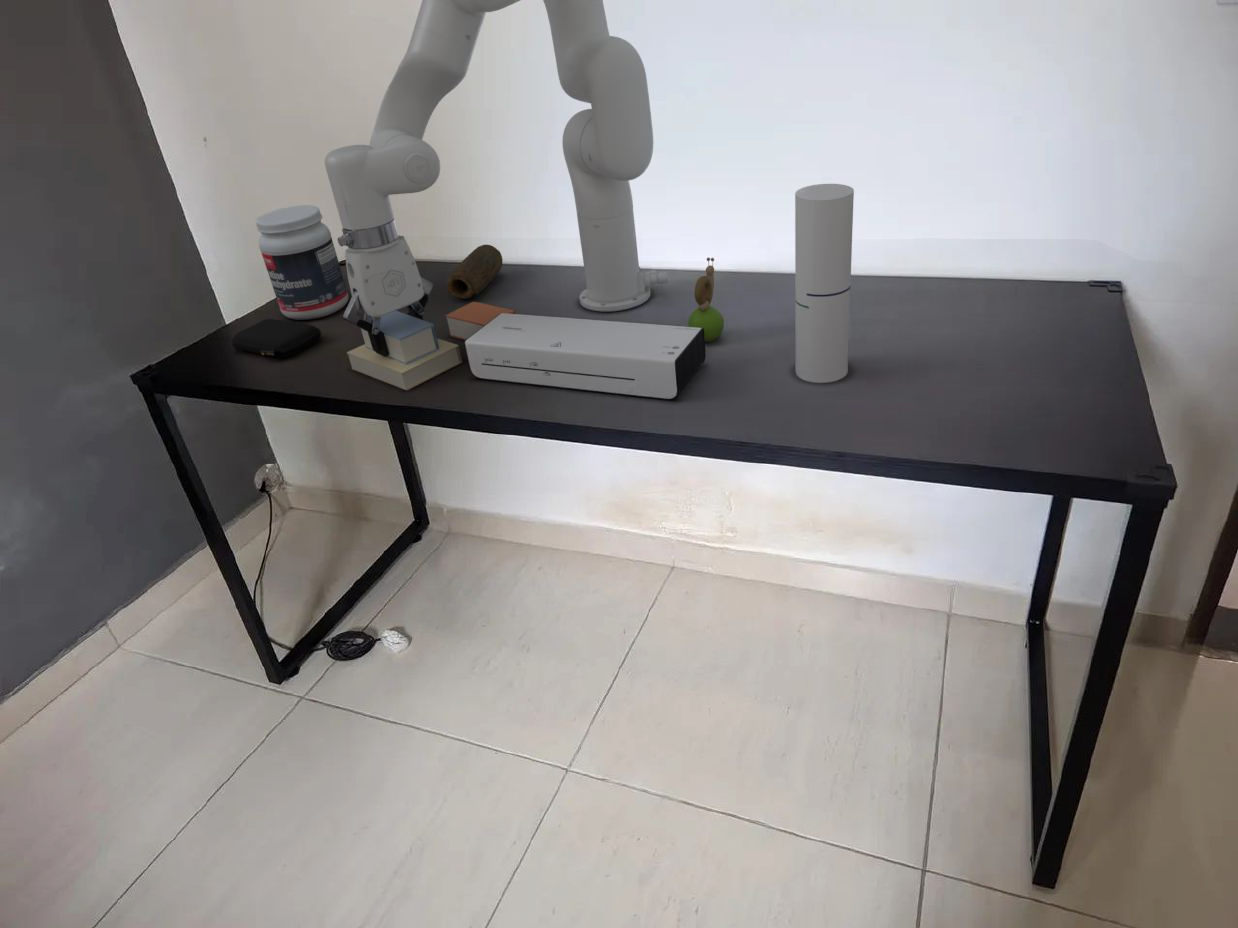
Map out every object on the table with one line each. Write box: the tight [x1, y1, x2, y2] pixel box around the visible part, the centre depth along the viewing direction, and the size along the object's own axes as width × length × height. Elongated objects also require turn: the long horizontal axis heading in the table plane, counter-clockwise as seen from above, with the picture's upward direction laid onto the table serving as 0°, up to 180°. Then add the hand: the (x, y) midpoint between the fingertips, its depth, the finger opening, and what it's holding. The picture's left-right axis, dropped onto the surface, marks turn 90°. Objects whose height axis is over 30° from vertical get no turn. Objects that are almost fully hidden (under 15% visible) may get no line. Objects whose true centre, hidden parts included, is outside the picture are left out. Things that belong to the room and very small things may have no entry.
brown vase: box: [446, 244, 503, 300], centre depth 164 cm, size 15×7×7 cm, turn 168°
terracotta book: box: [445, 301, 516, 341], centre depth 146 cm, size 10×7×4 cm, turn 51°
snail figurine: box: [687, 257, 725, 343], centre depth 132 cm, size 5×6×12 cm
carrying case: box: [231, 318, 322, 358], centre depth 151 cm, size 11×3×15 cm
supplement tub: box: [255, 204, 349, 321], centre depth 161 cm, size 13×13×18 cm
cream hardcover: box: [346, 338, 463, 391], centre depth 138 cm, size 15×11×3 cm
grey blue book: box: [360, 310, 440, 365], centre depth 136 cm, size 12×6×4 cm, turn 45°
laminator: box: [463, 313, 707, 401], centre depth 128 cm, size 34×12×6 cm, turn 66°
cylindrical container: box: [794, 183, 855, 384], centre depth 115 cm, size 7×7×25 cm
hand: (401, 345), depth 137 cm, fingers closed on grey blue book, 6 cm apart
